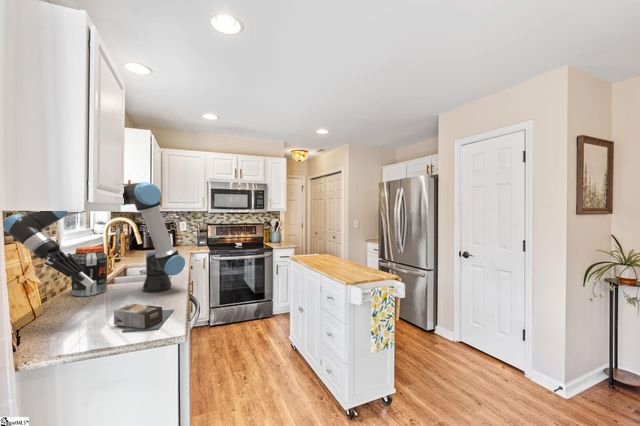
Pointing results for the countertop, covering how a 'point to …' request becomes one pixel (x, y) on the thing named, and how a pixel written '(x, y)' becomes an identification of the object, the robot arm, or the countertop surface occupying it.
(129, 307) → the coffee box
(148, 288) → the robot arm
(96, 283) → the supplement tub
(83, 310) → the countertop surface
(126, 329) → the mat
